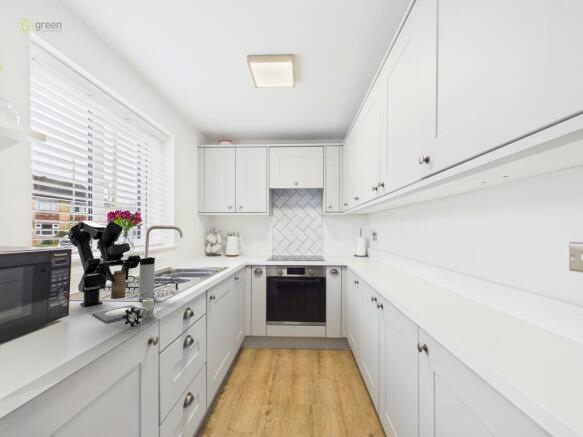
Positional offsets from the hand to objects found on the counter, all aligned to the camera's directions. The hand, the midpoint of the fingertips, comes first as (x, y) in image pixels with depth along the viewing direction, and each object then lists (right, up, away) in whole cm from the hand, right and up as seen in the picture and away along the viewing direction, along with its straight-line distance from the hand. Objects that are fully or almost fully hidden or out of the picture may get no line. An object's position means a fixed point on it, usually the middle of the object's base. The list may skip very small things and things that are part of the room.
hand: (120, 280), depth 103 cm
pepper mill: (-1, -7, +1) cm, 7 cm away
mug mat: (-1, -13, +1) cm, 14 cm away
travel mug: (-2, -14, +22) cm, 26 cm away
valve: (+11, -14, -5) cm, 19 cm away
